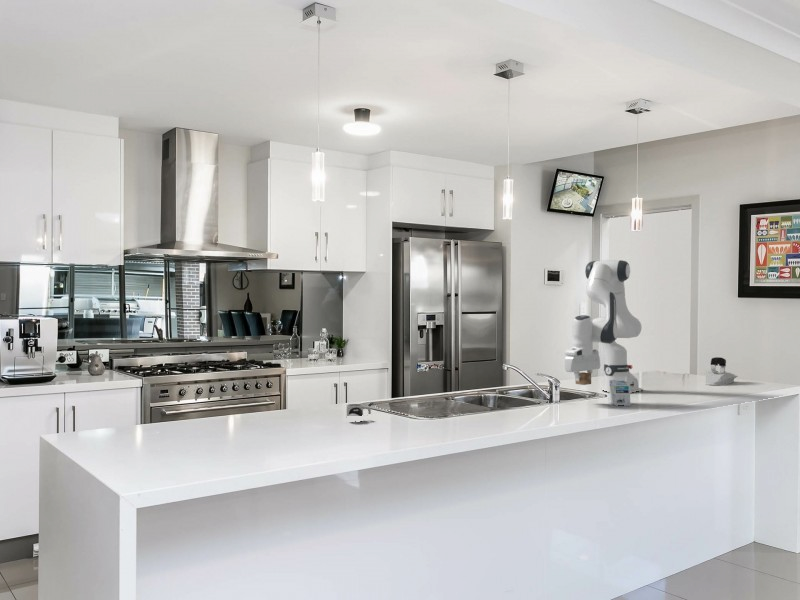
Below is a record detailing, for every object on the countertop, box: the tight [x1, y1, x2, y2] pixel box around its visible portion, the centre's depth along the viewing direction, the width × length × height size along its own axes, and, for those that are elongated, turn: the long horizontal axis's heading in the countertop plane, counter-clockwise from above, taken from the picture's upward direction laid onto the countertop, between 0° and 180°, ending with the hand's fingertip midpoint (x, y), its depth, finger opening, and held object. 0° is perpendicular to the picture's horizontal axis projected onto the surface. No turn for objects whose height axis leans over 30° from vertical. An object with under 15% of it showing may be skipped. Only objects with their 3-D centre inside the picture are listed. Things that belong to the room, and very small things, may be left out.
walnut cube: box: [574, 371, 592, 386], centre depth 322 cm, size 5×5×5 cm
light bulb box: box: [609, 380, 631, 407], centre depth 319 cm, size 11×7×11 cm, turn 179°
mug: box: [345, 403, 372, 417], centre depth 281 cm, size 10×7×7 cm
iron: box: [705, 356, 738, 386], centre depth 393 cm, size 11×24×15 cm, turn 135°
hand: (583, 380), depth 322 cm, fingers closed on walnut cube, 5 cm apart
